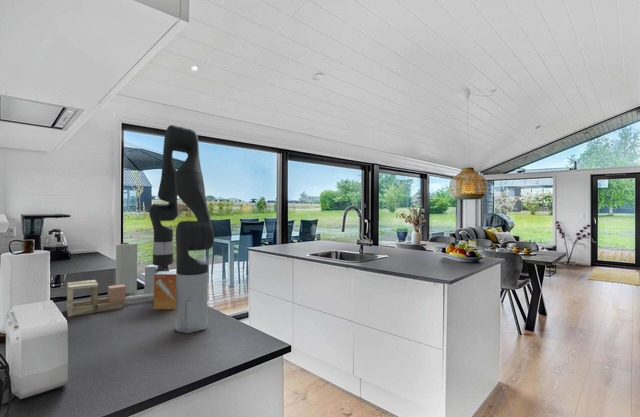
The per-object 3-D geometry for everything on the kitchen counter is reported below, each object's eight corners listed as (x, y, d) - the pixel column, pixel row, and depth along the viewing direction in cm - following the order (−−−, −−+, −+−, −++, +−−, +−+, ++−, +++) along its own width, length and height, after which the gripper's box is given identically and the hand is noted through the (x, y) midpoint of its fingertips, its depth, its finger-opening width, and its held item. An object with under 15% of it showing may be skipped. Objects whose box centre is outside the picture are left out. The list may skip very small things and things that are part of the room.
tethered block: (168, 295, 131) (168, 280, 131) (109, 304, 118) (109, 288, 118) (164, 293, 134) (165, 279, 134) (107, 302, 121) (107, 286, 121)
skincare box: (155, 295, 137) (155, 266, 137) (144, 295, 136) (144, 267, 136) (158, 291, 142) (159, 264, 142) (148, 291, 141) (148, 264, 141)
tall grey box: (111, 293, 137) (112, 243, 137) (125, 290, 143) (126, 242, 143) (123, 296, 134) (124, 244, 134) (136, 292, 140) (137, 243, 140)
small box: (152, 310, 117) (153, 274, 117) (159, 304, 123) (159, 270, 123) (176, 309, 118) (177, 273, 118) (181, 304, 124) (182, 270, 124)
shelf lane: (123, 307, 119) (123, 281, 119) (68, 316, 108) (68, 287, 108) (119, 302, 126) (119, 277, 126) (66, 310, 115) (67, 282, 115)
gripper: (178, 253, 129) (177, 297, 129) (168, 250, 139) (167, 290, 139) (157, 255, 124) (157, 300, 124) (148, 251, 134) (148, 292, 134)
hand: (162, 294), depth 132 cm, fingers closed on tethered block, 3 cm apart
